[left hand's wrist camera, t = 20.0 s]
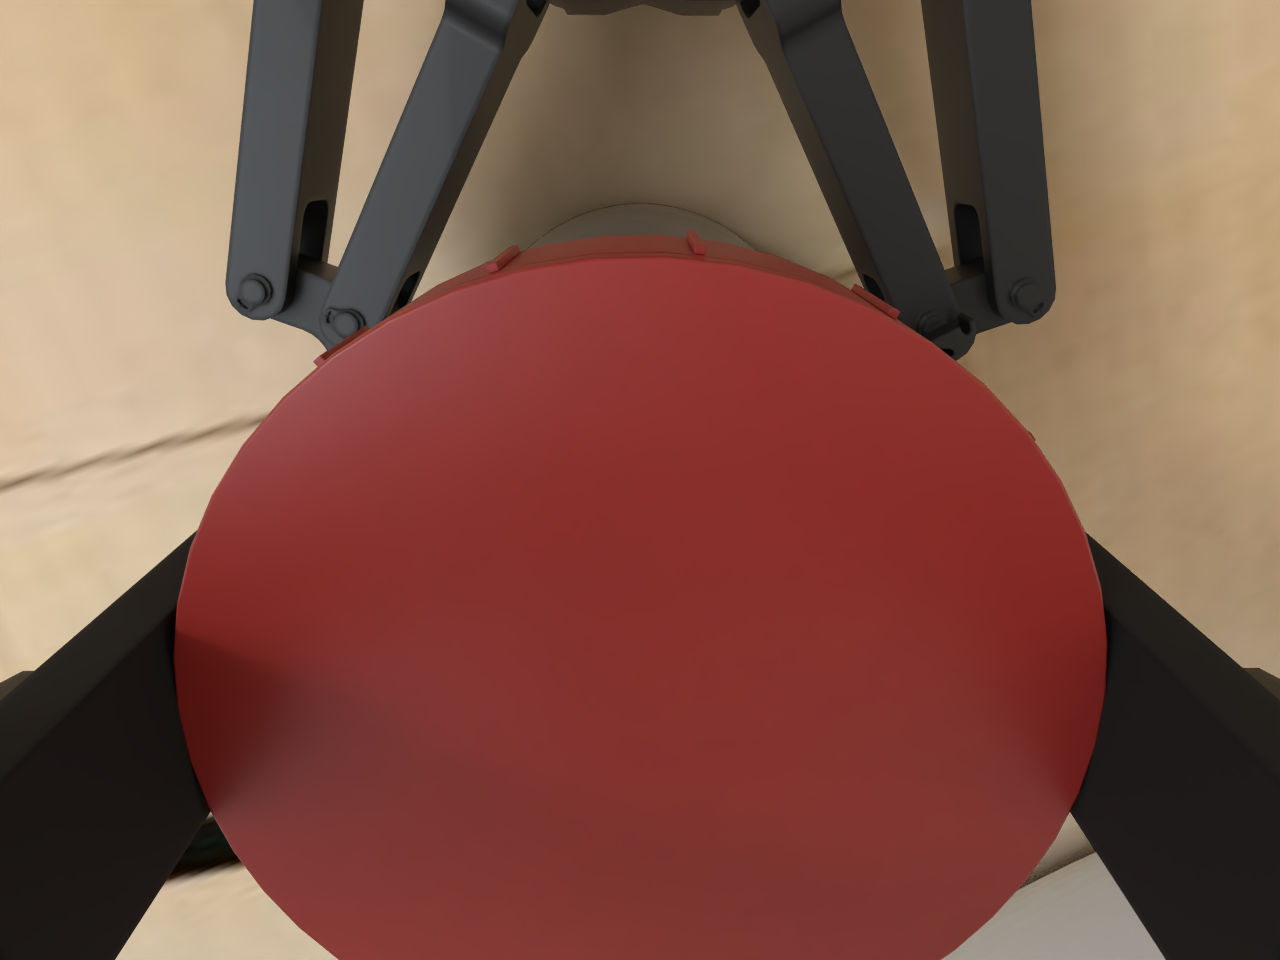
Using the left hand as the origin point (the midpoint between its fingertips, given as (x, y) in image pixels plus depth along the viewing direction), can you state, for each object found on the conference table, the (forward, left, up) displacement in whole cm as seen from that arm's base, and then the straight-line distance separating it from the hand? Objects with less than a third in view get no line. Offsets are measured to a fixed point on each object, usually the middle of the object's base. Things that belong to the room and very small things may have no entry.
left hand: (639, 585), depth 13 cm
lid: (0, 0, +3) cm, 3 cm away
